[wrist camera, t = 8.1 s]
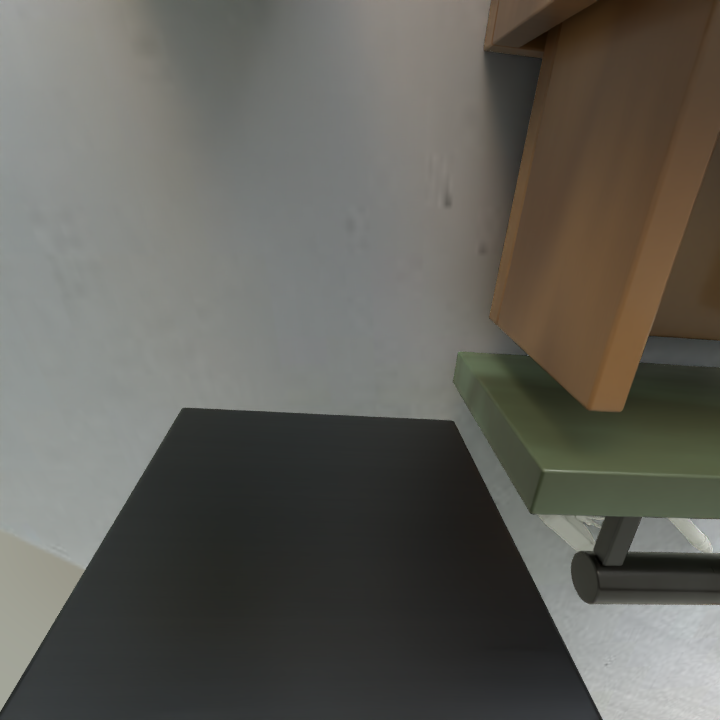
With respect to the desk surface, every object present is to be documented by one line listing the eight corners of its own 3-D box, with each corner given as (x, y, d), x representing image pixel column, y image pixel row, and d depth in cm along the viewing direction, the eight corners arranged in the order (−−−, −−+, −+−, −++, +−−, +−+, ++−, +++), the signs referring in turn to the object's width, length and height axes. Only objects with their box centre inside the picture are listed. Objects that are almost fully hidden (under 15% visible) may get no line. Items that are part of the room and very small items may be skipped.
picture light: (711, 542, 22) (749, 579, 20) (633, 594, 23) (662, 634, 21) (535, 351, 17) (562, 375, 15) (447, 426, 18) (462, 458, 16)
